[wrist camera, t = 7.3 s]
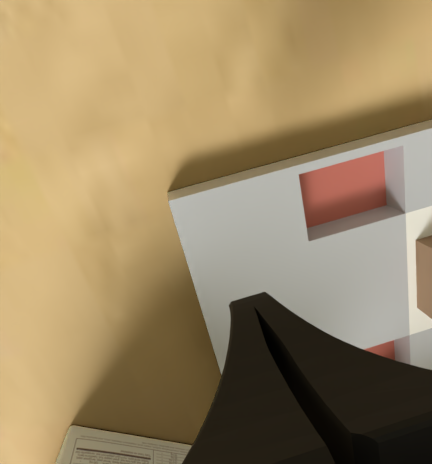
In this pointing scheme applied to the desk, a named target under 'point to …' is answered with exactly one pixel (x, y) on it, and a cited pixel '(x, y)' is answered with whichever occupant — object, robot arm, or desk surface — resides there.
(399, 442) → the robot arm
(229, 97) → the desk surface
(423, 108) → the desk surface
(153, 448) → the supplement box
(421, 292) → the walnut block
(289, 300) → the trap deck
